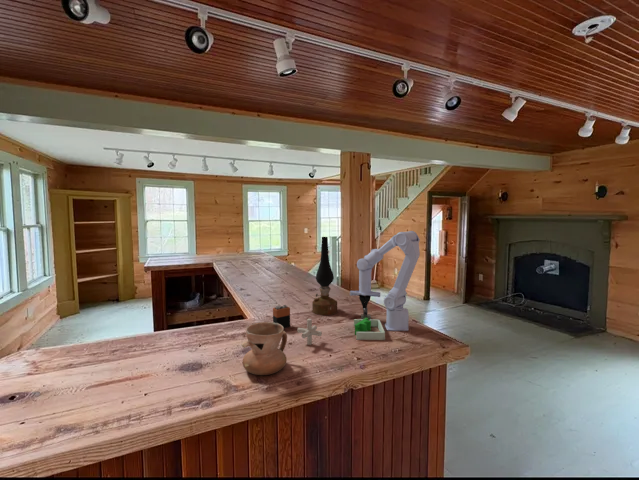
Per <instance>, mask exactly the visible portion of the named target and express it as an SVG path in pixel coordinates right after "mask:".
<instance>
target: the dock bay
mask: <svg viewBox="0 0 639 480" xmlns="http://www.w3.org/2000/svg"><path fill="white" fill-rule="evenodd" d="M362 320H363V319H361V318H357V319H356V318H355V319H353V327H355V325H356V324H357V323H359V322H360V321H362ZM370 321H371V327H377V328H378V331H367V332H356V335H355V337H356V339H355V340H359V341H360V340H361V341H362V340H365V341H366V340H367V341H373V340H375V341H385V340H386V331H385V329H384V327H383V325H382V324H383V323H382V322H381V320H380V319H372V318H371V319H370Z"/></svg>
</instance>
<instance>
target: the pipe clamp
mask: <svg viewBox="0 0 639 480" xmlns="http://www.w3.org/2000/svg"><path fill="white" fill-rule="evenodd" d="M356 332H372V326H371V321H368V318H365V319H363V320H362V321H360V322H359V323H357V324H356V325H355V326H354V335H355V336H356Z"/></svg>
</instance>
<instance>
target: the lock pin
mask: <svg viewBox="0 0 639 480" xmlns="http://www.w3.org/2000/svg"><path fill="white" fill-rule="evenodd" d="M362 309H363V311H362V314H369V312H368V311H369V310H368V309H369V308H368V307H367V308H366V307H364V308H363V307H362ZM364 319H365V318H364Z"/></svg>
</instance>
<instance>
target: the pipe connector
mask: <svg viewBox="0 0 639 480" xmlns="http://www.w3.org/2000/svg"><path fill="white" fill-rule="evenodd" d="M312 324H313V323H312V318H307V320H306V328H303V327H297V330H296V331H297V333H301V337H302V339H306V341H307V342H306V343H307V345H308V346H312V344H313V339H312V338H313V336H318V337H322V334H323V331H321V330H317V329H318V327H317V325H312Z"/></svg>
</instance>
